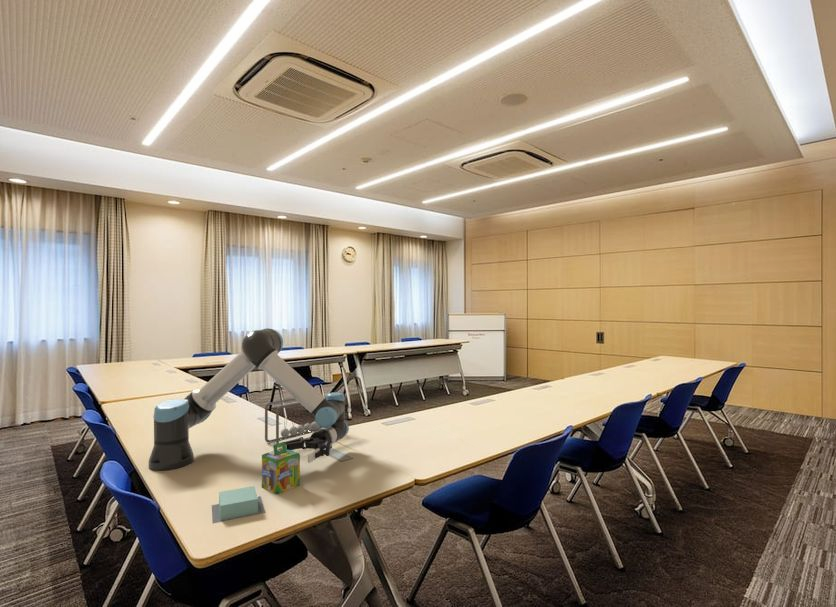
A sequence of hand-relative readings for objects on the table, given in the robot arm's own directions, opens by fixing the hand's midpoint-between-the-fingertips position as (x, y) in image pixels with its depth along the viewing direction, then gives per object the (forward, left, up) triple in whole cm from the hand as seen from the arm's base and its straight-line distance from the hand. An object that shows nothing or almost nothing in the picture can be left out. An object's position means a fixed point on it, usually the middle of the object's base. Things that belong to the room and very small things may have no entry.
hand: (291, 456), depth 150 cm
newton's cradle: (+13, +48, -9) cm, 51 cm away
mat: (-18, -14, -9) cm, 25 cm away
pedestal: (-18, -14, -8) cm, 24 cm away
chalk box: (-4, -3, -9) cm, 10 cm away
